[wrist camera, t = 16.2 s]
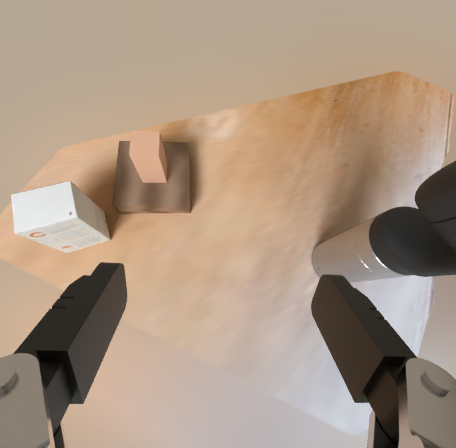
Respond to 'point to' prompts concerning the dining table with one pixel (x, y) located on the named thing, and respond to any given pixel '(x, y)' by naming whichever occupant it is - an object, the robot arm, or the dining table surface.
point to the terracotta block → (148, 156)
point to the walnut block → (153, 192)
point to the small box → (59, 217)
